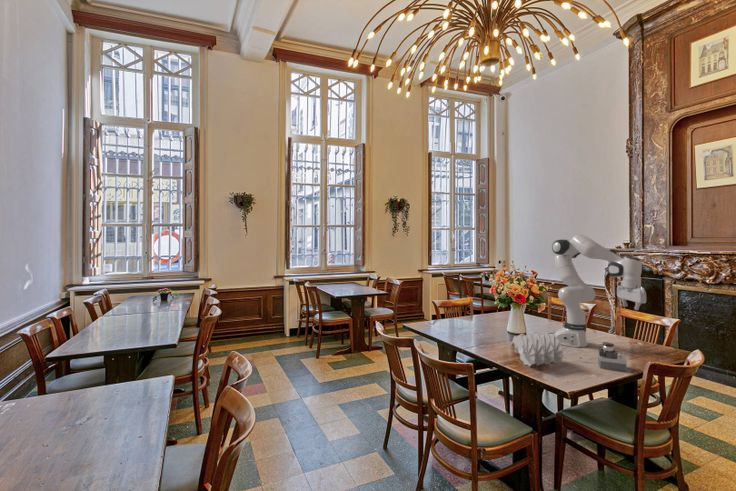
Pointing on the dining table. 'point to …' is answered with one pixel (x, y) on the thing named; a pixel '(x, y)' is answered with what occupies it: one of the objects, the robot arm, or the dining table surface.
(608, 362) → the grey stacked block
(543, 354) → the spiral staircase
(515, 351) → the teacup with lid
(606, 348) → the lens
